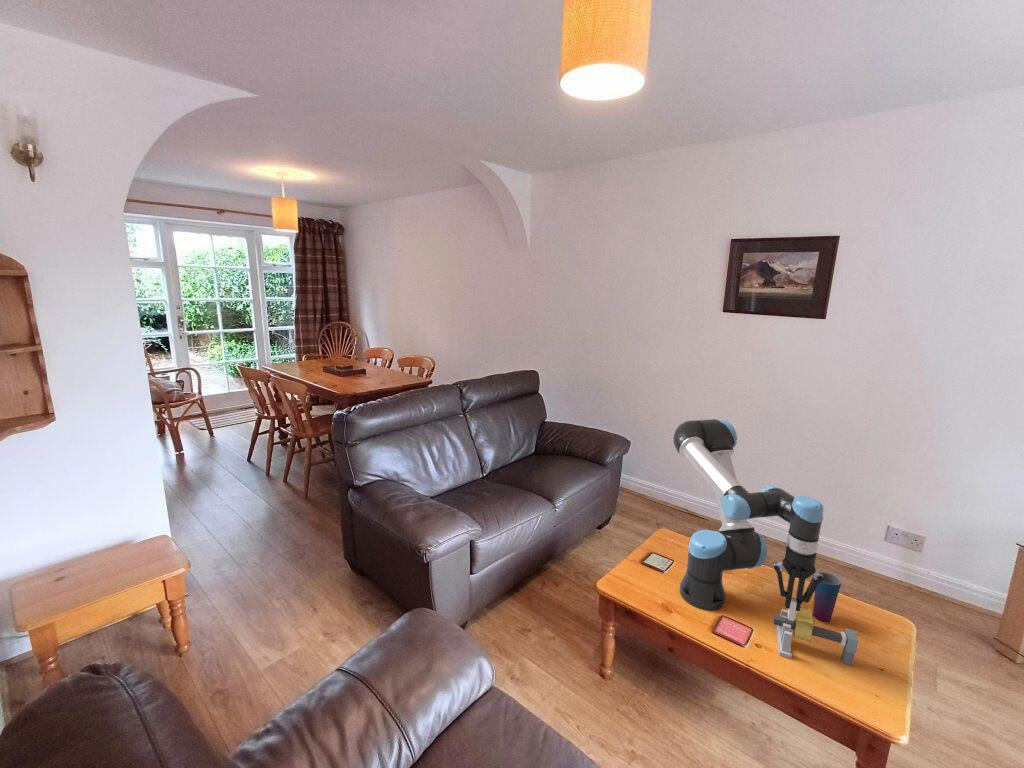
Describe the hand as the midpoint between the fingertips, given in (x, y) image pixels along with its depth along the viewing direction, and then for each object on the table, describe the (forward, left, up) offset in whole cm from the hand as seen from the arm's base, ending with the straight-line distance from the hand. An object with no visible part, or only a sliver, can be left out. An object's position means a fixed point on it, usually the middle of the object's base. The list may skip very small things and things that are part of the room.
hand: (790, 617), depth 140 cm
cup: (+12, +18, -10) cm, 24 cm away
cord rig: (+7, 0, -9) cm, 12 cm away
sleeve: (+3, 0, -5) cm, 6 cm away
